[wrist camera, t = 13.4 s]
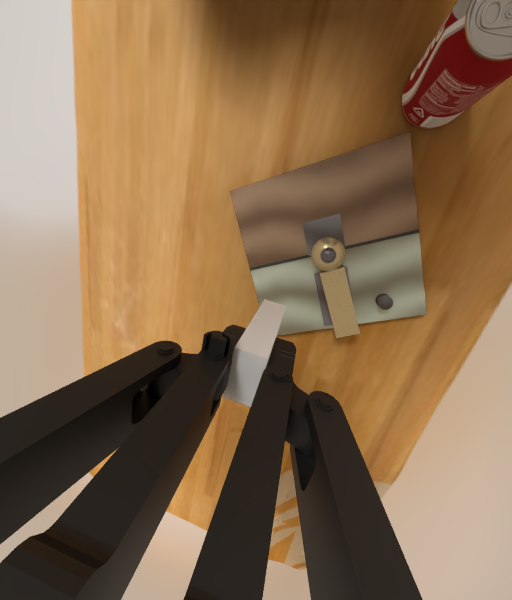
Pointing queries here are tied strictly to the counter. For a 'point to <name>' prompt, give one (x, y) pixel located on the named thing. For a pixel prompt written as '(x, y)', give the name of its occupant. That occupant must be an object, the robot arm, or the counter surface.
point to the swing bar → (335, 285)
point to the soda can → (461, 63)
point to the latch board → (337, 235)
